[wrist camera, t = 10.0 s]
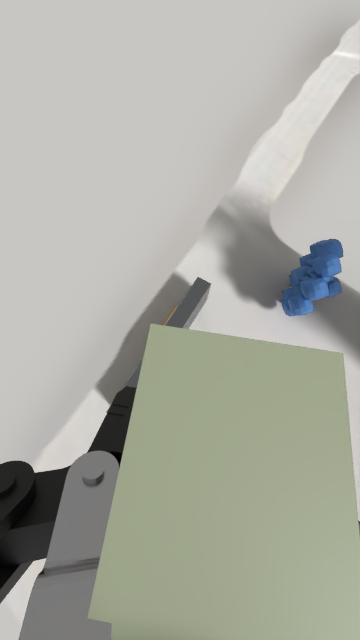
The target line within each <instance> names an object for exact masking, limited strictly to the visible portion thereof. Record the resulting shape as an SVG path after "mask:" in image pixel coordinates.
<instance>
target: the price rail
mask: <svg viewBox="0 0 360 640" xmlns="http://www.w3.org/2000/svg"><path fill="white" fill-rule="evenodd" d="M210 286H211V284H210V283H208V282H207V281H205V280H203V279H201V278H199V277H198V278H197V279H196V281H195V282H194V284H193V285H192V286H191V287H190V289H189V290H188V292H187V293H186V295H185V296H184V298H183V299H182V301H181V302H180V304H179V305H178V307H177V306H176V307H175V308H174V310H173V311H172V313H171V314H170V316H169V317H168V319H167V320H166V322H165V323H164V324H163V325H164V326H171V327H177V328H184V329H189V327H190V325H191V324H192V322H193V321H194V319H195V318H196V316H197V314H198V313H199V311H200V310H201V308H202V307H203V305H204V303H205V302H206V300H207V297H208V293H209V289H210ZM142 361H143V358H142V360H141V361H140V363H139V364H138V366H137V367H136V368H135V370H134V371H133V373H132V374H131V376H130V377H129V379H128V380H127V382H126V383H125V385H124V386H123V388H124V387H126V386H129V387H135V388H136V386H137V384H138V380H139V375H140V371H141V366H142ZM123 388H122V389H123ZM122 389H121V390H122ZM108 410H109V409H108ZM107 413H108V411H107Z"/></svg>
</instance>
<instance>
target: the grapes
mask: <svg viewBox="0 0 360 640" xmlns="http://www.w3.org/2000/svg"><path fill="white" fill-rule="evenodd" d="M310 251H311V254H308V255H306V256H303V257H301V258H299V259H300V264H301V267H300V268H297V269H295V270H293V271H291V273H292V274H291V275H289V277H290V282H291V285H292V286H293V287H292V288H289V289H287V290H285V291H283V297H284V300H283V301H281V302H282V307H283V310H284V312H285V313H286V315H288V316H296V315H297V316H298V315H305V314H307V313H310V312H312V311H314V307H313V303H312V301H313V300H319V299H321V298H324V297H325V298H328V297H333V296H336V295H338V294H340V293H342V289H341V284H340V281H339V280H338V279H337V278H336V277H333V276H334V275H336V274H338V273H340V272H341V264H340V260H339V258H341V257H343V248H342V245H341V243H340V242H339V241H338V240H336V239H329V240H323V241H320V242H317V243H315V244H313V245H311V246H310Z"/></svg>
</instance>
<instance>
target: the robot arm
mask: <svg viewBox="0 0 360 640" xmlns="http://www.w3.org/2000/svg"><path fill="white" fill-rule="evenodd" d="M137 385H138V384H137ZM136 389H137V386H136V388H135V387H129V386H126V387H124V388H123V389H122V390H121V391H120V392H118V393H117V394H116V396H115V398H114V400H113V402H112V405H111V406H110V408H109V410H108V413H107V415H106V417H105V419H104V421H103V423H102V425H101V427H100V429H99V431H98V433H97V435H96V437H95V439H94V441H93V443H92V445H91V447H90V449H89V450H88V452H87V453H86V454H84V455H82V456H81V457H79V458H78V459H77V460H76V461H75V462H74V463H73V464H72V465H71V466H68V467H66V468H63V469H58V470H51V471H45V472H38V473H34V470H33V468H32V467H31V465H29V464H28V463H26V462H23V461H10V462H6V463H3V464H0V603H1V602H2V601H3V599H4V598H5V597H6V595H7V594H8V593H9V592H10V590H11V589H12V588H13V587H14V585H15V584H16V583H17V581H18V580H19V579H20V578H21V576H22V575H23V574H24V572H25V571H26V570H27V569H28V567H29V566H30V565H31V563H32V562H33V561H35V560H40V559H44V558H47V559H46V562H45V565H44V568H43V570H42V572H40V573H39V574H38V576H37V578H36V580H35V583H34V586H33V588H32V591H31V595H30V598H29V602H28V606H27V609H26V613H25V617H24V621H23V625H22V629H21V632H20V636H19V640H111V630H112V623H108V622H103V621H98V620H93V619H88V618H87V617H88V613H89V608H90V603H91V599H92V594H93V589H94V585H95V580H96V575H97V571H98V566H99V561H100V557H101V552H102V547H103V543H104V538H105V534H106V529H107V524H108V520H109V515H110V510H111V506H112V501H113V496H114V492H115V487H116V482H117V478H118V473H119V468H120V464H121V459H122V454H123V450H124V445H125V440H126V436H127V431H128V427H129V422H130V417H131V413H132V408H133V403H134V399H135V394H136ZM358 524H359V535H360V522H359V521H358Z"/></svg>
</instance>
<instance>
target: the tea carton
mask: <svg viewBox="0 0 360 640" xmlns="http://www.w3.org/2000/svg"><path fill="white" fill-rule="evenodd" d="M87 618H88V619H93V620H98V621H103V622H108V623H112V630H111V640H360V535H359V524H358V513H357V502H356V491H355V480H354V469H353V458H352V447H351V436H350V425H349V414H348V402H347V391H346V380H345V369H344V358H343V353H339V352H332V351H326V350H319V349H313V348H306V347H300V346H293V345H287V344H280V343H274V342H267V341H261V340H255V339H248V338H242V337H235V336H229V335H222V334H216V333H209V332H203V331H196V330H190V329H184V328H177V327H171V326H164V325H158V324H150V329H149V334H148V338H147V343H146V347H145V352H144V357H143V361H142V366H141V371H140V375H139V380H138V385H137V389H136V394H135V399H134V403H133V408H132V413H131V417H130V422H129V427H128V431H127V436H126V440H125V445H124V450H123V454H122V459H121V464H120V468H119V473H118V478H117V482H116V487H115V492H114V496H113V501H112V506H111V510H110V515H109V520H108V524H107V529H106V534H105V538H104V543H103V547H102V552H101V557H100V561H99V566H98V571H97V575H96V580H95V585H94V589H93V594H92V599H91V603H90V608H89V613H88V617H87Z"/></svg>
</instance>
